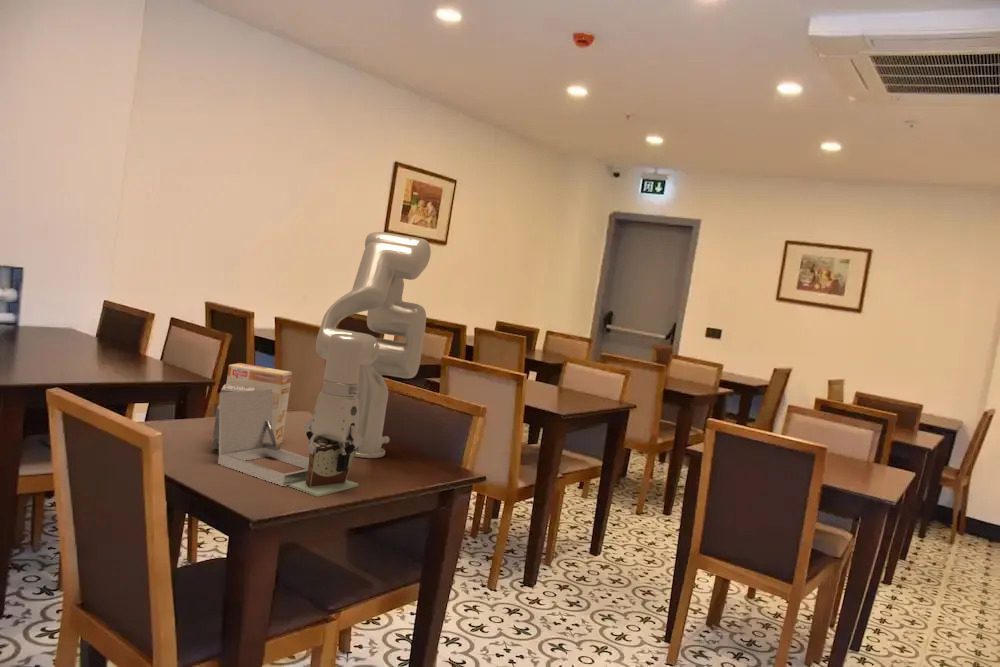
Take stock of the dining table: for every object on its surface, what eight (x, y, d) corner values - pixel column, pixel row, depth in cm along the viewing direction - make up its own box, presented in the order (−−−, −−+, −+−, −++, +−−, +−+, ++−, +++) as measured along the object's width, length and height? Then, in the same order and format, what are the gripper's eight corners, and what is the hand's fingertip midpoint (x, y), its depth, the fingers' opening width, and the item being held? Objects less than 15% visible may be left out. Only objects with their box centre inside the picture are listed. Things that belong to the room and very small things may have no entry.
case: (260, 452, 188) (269, 388, 187) (330, 475, 178) (340, 408, 177) (209, 461, 174) (219, 392, 173) (282, 486, 164) (293, 413, 163)
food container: (335, 472, 176) (345, 432, 175) (350, 483, 172) (360, 443, 171) (289, 476, 167) (299, 434, 166) (303, 488, 163) (314, 445, 162)
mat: (331, 477, 177) (331, 474, 177) (358, 486, 173) (358, 483, 173) (289, 487, 164) (289, 484, 164) (317, 496, 161) (318, 494, 161)
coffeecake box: (283, 442, 202) (293, 371, 201) (272, 447, 195) (282, 374, 194) (230, 432, 204) (240, 362, 202) (217, 437, 196) (228, 364, 195)
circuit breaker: (209, 455, 179) (218, 393, 178) (216, 441, 192) (224, 384, 191) (242, 458, 181) (251, 397, 180) (247, 444, 194) (255, 387, 193)
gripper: (380, 396, 167) (368, 474, 168) (320, 380, 175) (309, 455, 176) (360, 398, 160) (347, 479, 161) (298, 382, 168) (286, 459, 169)
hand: (327, 466), depth 169 cm, fingers open, 7 cm apart
